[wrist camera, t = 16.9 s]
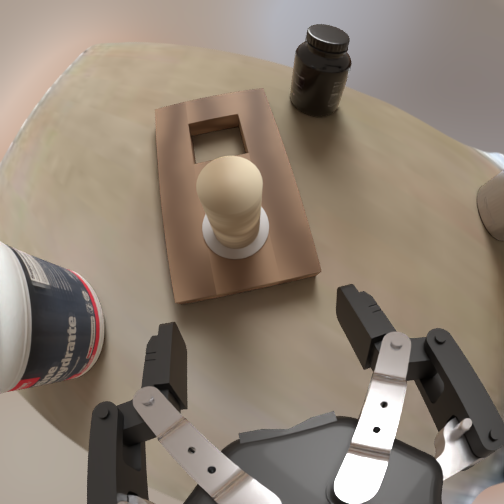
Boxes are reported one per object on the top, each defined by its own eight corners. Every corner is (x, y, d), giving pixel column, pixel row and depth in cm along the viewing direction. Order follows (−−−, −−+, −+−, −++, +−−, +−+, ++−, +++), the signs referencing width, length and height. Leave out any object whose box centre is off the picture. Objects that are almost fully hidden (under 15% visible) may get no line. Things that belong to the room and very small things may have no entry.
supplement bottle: (327, 84, 36) (345, 21, 24) (344, 117, 34) (370, 52, 22) (283, 86, 35) (291, 19, 24) (296, 120, 34) (310, 48, 22)
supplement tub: (86, 398, 25) (-31, 436, 7) (21, 336, 27) (-87, 327, 9) (128, 305, 28) (-1, 275, 10) (55, 252, 29) (-53, 197, 12)
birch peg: (253, 201, 28) (254, 150, 19) (264, 243, 27) (269, 206, 18) (209, 210, 28) (192, 163, 19) (218, 253, 27) (202, 220, 18)
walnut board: (262, 100, 34) (263, 87, 32) (315, 275, 29) (322, 270, 26) (159, 121, 34) (154, 108, 31) (181, 304, 28) (174, 302, 25)
